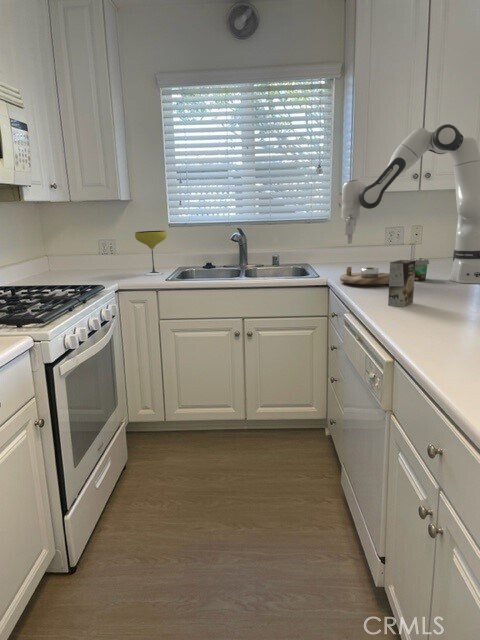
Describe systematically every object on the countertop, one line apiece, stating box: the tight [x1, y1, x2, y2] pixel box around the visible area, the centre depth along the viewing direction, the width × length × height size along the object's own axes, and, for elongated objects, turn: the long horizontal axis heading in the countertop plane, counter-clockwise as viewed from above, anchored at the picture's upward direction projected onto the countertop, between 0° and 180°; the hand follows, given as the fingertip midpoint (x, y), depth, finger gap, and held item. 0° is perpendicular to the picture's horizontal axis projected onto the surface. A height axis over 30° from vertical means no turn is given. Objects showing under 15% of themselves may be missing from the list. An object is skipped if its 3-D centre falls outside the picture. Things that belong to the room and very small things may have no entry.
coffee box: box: [387, 259, 416, 308], centre depth 175 cm, size 9×6×16 cm
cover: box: [360, 266, 380, 278], centre depth 222 cm, size 8×8×4 cm
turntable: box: [339, 266, 390, 286], centre depth 223 cm, size 28×28×5 cm
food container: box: [414, 257, 430, 282], centre depth 225 cm, size 12×6×10 cm, turn 143°
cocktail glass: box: [134, 230, 167, 273], centre depth 277 cm, size 18×18×25 cm
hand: (349, 243), depth 232 cm, fingers closed
